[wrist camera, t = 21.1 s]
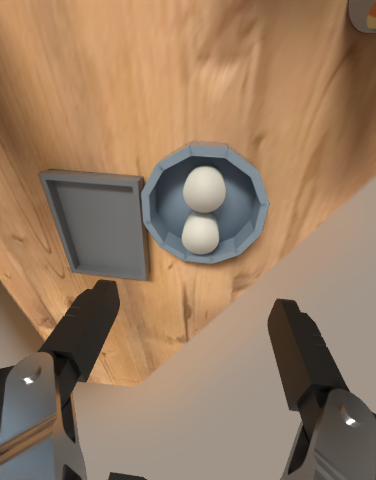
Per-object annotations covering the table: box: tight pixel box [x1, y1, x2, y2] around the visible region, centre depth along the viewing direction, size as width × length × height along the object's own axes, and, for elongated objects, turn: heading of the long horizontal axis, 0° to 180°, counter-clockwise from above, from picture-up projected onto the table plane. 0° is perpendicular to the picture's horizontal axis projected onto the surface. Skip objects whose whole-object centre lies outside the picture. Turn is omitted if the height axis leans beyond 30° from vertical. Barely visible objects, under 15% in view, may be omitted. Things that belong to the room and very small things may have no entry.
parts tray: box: [38, 169, 150, 281], centre depth 33 cm, size 14×18×2 cm
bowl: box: [141, 141, 270, 264], centre depth 28 cm, size 16×16×4 cm
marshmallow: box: [183, 163, 226, 213], centre depth 26 cm, size 5×5×4 cm
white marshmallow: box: [182, 210, 219, 254], centre depth 29 cm, size 5×5×4 cm
